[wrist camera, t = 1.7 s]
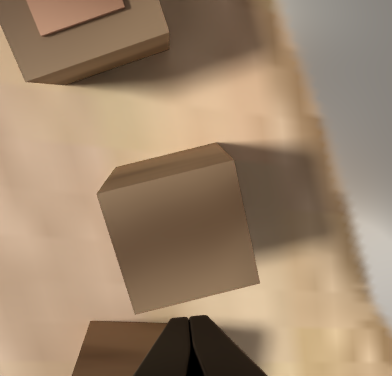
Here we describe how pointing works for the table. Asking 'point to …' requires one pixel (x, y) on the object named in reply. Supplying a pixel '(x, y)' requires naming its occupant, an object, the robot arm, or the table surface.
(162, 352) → the robot arm
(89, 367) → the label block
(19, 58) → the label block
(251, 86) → the table surface
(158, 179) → the plain block
